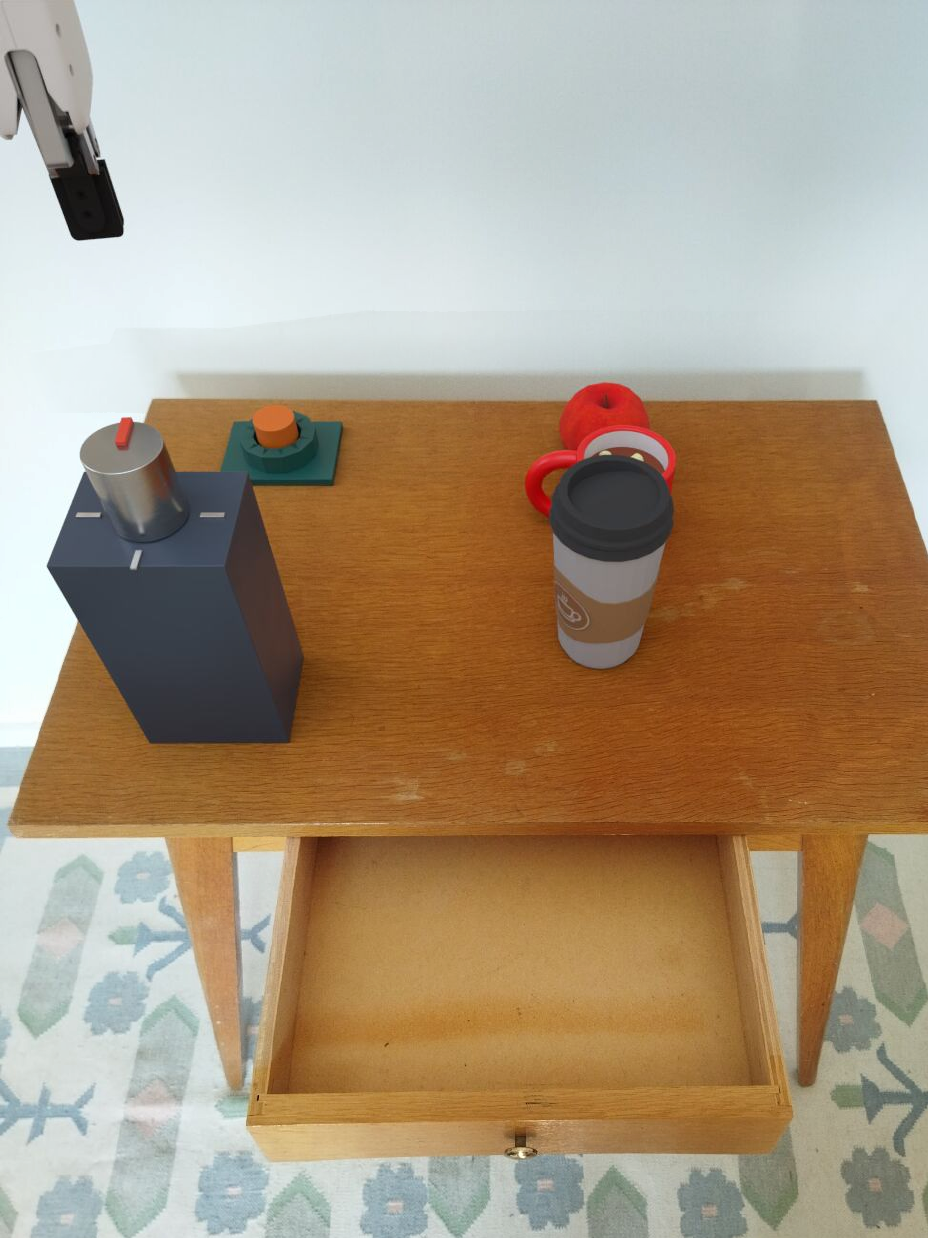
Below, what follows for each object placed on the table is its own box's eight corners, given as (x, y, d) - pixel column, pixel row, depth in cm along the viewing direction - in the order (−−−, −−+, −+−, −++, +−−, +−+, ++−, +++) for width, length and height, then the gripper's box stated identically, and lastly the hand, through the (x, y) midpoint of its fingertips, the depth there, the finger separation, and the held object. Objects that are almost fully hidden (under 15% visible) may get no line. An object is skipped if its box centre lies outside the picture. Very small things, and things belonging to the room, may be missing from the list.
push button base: (219, 485, 83) (212, 463, 81) (235, 427, 88) (228, 404, 86) (333, 485, 84) (328, 463, 82) (343, 427, 88) (338, 404, 86)
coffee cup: (523, 630, 74) (523, 481, 62) (606, 584, 77) (621, 433, 65) (590, 699, 70) (604, 555, 58) (674, 648, 73) (704, 500, 61)
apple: (593, 423, 89) (598, 353, 83) (663, 458, 86) (673, 388, 80) (540, 466, 85) (541, 396, 79) (611, 504, 82) (618, 435, 76)
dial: (183, 541, 54) (154, 467, 50) (105, 544, 54) (68, 471, 50) (194, 489, 57) (167, 415, 52) (119, 491, 56) (85, 418, 52)
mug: (528, 491, 83) (529, 417, 77) (665, 501, 83) (676, 427, 76) (519, 555, 79) (519, 482, 72) (663, 566, 78) (676, 493, 72)
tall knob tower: (148, 747, 68) (42, 568, 53) (173, 653, 72) (83, 465, 58) (289, 746, 68) (223, 568, 53) (304, 652, 73) (248, 465, 58)
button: (254, 450, 83) (249, 431, 81) (261, 424, 85) (255, 404, 84) (295, 450, 83) (291, 431, 81) (301, 424, 85) (296, 404, 84)
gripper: (-91, -179, 50) (45, 184, 65) (-141, -98, 41) (29, 300, 56) (59, -183, 51) (159, 175, 66) (40, -104, 42) (160, 287, 57)
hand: (99, 232), depth 61 cm, fingers closed
